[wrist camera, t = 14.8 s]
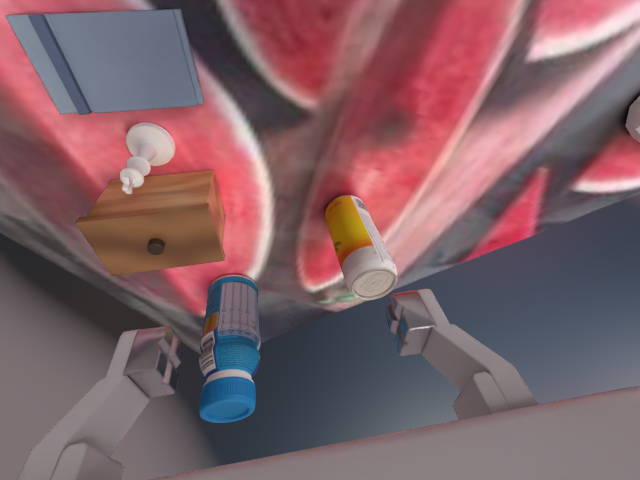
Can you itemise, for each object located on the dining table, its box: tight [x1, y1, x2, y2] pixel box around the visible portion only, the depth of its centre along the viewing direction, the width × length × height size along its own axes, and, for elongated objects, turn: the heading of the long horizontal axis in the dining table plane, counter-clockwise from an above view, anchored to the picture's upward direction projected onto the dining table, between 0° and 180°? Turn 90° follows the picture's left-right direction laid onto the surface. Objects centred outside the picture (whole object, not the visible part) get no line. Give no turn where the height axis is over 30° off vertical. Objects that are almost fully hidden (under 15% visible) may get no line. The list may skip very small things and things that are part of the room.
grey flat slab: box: [6, 9, 204, 115], centre depth 29 cm, size 8×14×1 cm, turn 91°
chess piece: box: [120, 122, 175, 194], centre depth 31 cm, size 5×5×10 cm
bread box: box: [75, 170, 226, 276], centre depth 36 cm, size 8×13×10 cm, turn 91°
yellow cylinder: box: [325, 195, 397, 300], centre depth 40 cm, size 6×6×15 cm
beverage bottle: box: [199, 275, 260, 423], centre depth 45 cm, size 8×8×20 cm
